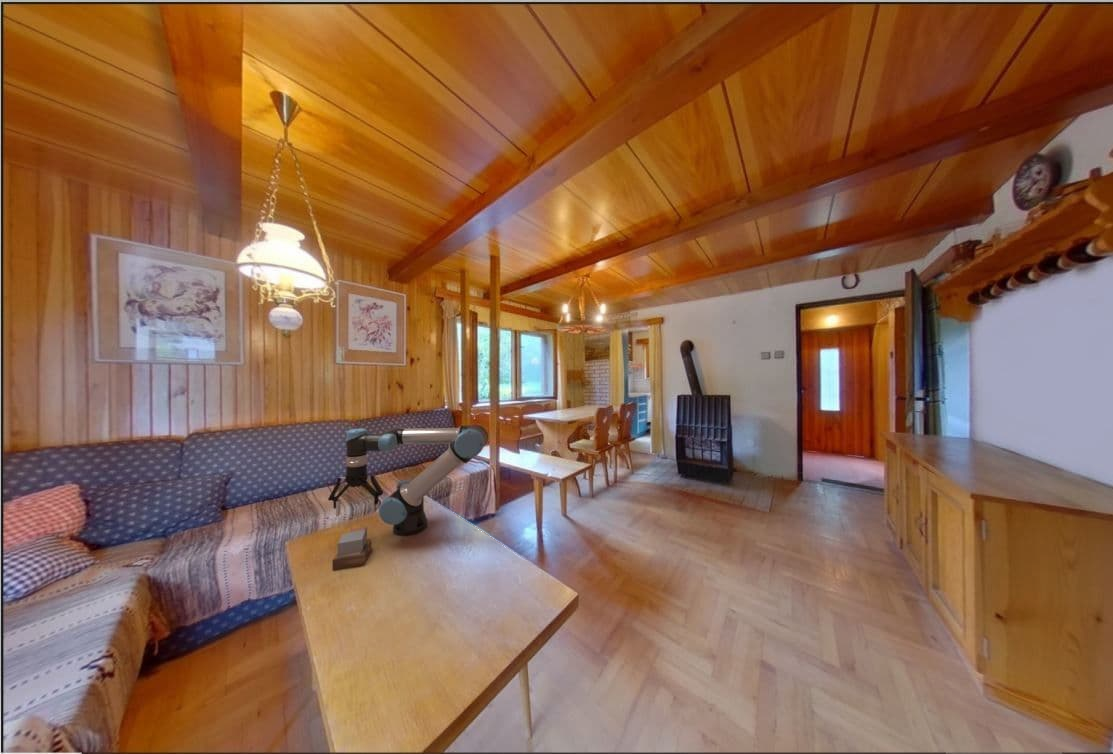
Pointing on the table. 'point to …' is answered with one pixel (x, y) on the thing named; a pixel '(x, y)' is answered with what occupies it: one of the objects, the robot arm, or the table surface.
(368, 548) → the plinth
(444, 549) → the table surface
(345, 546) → the slate block
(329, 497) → the robot arm
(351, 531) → the terracotta cube
